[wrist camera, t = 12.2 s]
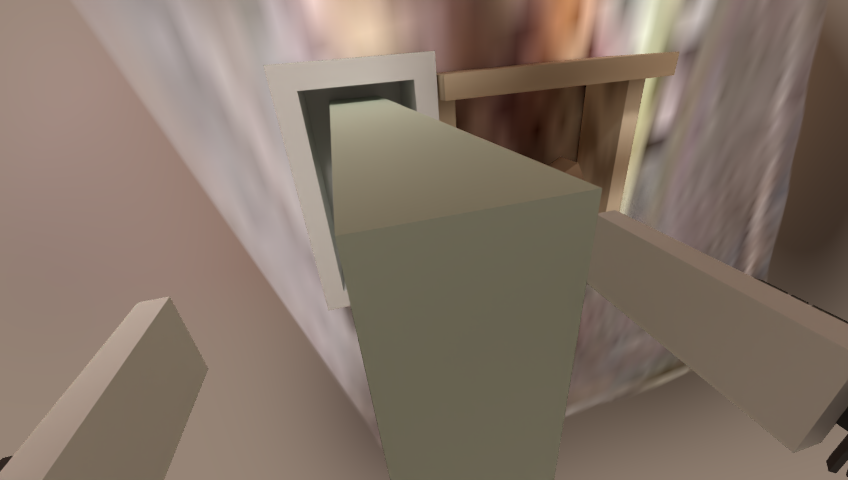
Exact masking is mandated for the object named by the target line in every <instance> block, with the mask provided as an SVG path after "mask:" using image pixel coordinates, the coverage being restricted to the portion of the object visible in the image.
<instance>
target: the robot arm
mask: <svg viewBox="0 0 848 480" xmlns="http://www.w3.org/2000/svg"><path fill="white" fill-rule="evenodd" d="M587 283H588V284H589V285H590V286H591V287H592V288H594V289H595V290H596V291H597V292H599V293H600V294H601V295H602V296H603V297H605V298H606V299H607V300H608V301H609V302H611V303H612V304H613V305H614V306H616V307H617V308H618V309H619V310H620V311H622V312H623V313H624V314H625V315H626V316H628V317H629V318H630V319H631V320H633V321H634V322H635V323H636V324H637V325H639V326H640V327H641V328H642V329H643V330H645V331H646V332H647V333H648V334H650V335H651V336H652V337H653V338H654V339H656V340H657V341H658V342H659V343H660V344H662V345H663V346H664V347H665V348H667V349H668V350H669V351H670V352H671V353H673V354H674V355H675V356H676V357H677V358H679V359H680V360H681V361H682V362H683V363H685V364H686V365H687V366H688V367H690V368H691V369H692V370H693V371H694V372H696V373H697V374H698V375H699V376H701V377H702V378H703V379H704V380H706V381H707V382H708V383H709V384H710V385H711V386H713V387H714V388H715V389H716V390H717V391H719V392H720V393H721V394H722V395H724V396H725V397H726V398H727V399H729V400H730V401H731V402H732V403H733V404H735V405H736V406H737V407H738V408H739V409H741V410H742V411H743V412H744V413H746V414H747V415H748V416H749V417H750V418H751V419H753V420H754V421H755V422H757V423H758V424H759V425H760V426H761V427H762V428H764V429H765V430H766V431H767V432H769V433H770V434H771V435H772V436H773V437H775V438H776V439H777V440H778V441H780V442H781V443H782V444H783V445H784V446H785V447H787V448H788V449H789V450H790V451H792V452H793V453H795V452H798V451H800V450H803V449H805V448H808V447H810V446H813V445H815V444H818V443H821V442H822V440H823V439H824V438H825V437H826V435H827V434H828V433H829V432H830V430H831V429H832V428H833V427H834V425H835V424H836V423H837V424H838V425H839V426H841V427H842V428H844V429H845V430H847V431H848V322H847V321H845V320H843V319H841V318H839V317H837V316H834V315H833V314H831V313H829V312H827V311H824V310H822V309H820V308H818V307H816V306H810V305H809V304H808V302H806V301H804V300H802V299H800V298H798V297H796V296H794V295H791V296H790V295H788V294H787V292H785V291H783V290H781V289H779V288H777V287H775V286H773V285H771V284H769V283H767V282H765V281H763V280H760V279H756V278H753V277H751V276H749V275H747V274H745V273H743V272H741V271H739V270H737V269H735V268H733V267H731V266H729V265H726V264H724V263H722V262H720V261H718V260H716V259H714V258H712V257H710V256H708V255H706V254H704V253H702V252H700V251H698V250H696V249H694V248H692V247H690V246H688V245H686V244H684V243H682V242H679V241H677V240H675V239H673V238H671V237H669V236H667V235H665V234H663V233H661V232H659V231H657V230H655V229H653V228H651V227H649V226H647V225H645V224H643V223H641V222H639V221H637V220H634V219H632V218H630V217H628V216H626V215H624V214H622V213H620V212H618V211H616V210H613V211H608V212H602V213H598V217H597V223H596V230H595V236H594V242H593V248H592V254H591V260H590V266H589V272H588V278H587ZM207 371H208V367H207V365H206V363H205V361H204V359H203V358H202V356H201V354H200V352H199V350H198V348H197V346H196V345H195V343H194V341H193V339H192V337H191V335H190V333H189V331H188V330H187V328H186V326H185V324H184V322H183V320H182V318H181V317H180V315H179V313H178V311H177V309H176V307H175V305H174V304H173V302H172V300H171V298H170V297H164V298H160V299H154V300H149V301H144V302H139V303H137V304H136V306H135V307H134V308H133V309H132V311H131V312H130V313H129V314H128V315H127V317H126V318H125V319H124V320H123V321H122V323H121V324H120V325H119V326H118V328H117V329H116V330H115V331H114V333H113V334H112V335H111V336H110V337H109V339H108V340H107V341H106V342H105V344H104V345H103V346H102V347H101V349H100V350H99V351H98V352H97V353H96V355H95V356H94V357H93V358H92V360H91V361H90V362H89V363H88V365H87V366H86V367H85V368H84V369H83V371H82V372H81V373H80V374H79V376H78V377H77V378H76V379H75V381H74V382H73V383H72V384H71V385H70V387H69V388H68V389H67V390H66V392H65V393H64V394H63V395H62V396H61V398H60V399H59V400H58V401H57V403H56V404H55V405H54V406H53V408H52V409H51V410H50V411H49V413H48V414H47V415H46V416H45V417H44V419H43V420H42V421H41V422H40V424H39V425H38V426H37V427H36V428H35V430H34V431H33V432H32V433H31V435H30V436H29V437H28V438H27V439H26V441H25V442H24V443H23V444H22V446H21V447H20V448H19V449H18V451H17V452H16V453H15V454H14V455H13V456H10V457H5V458H2V459H1V460H0V480H164V479H165V476H166V473H167V471H168V468H169V466H170V463H171V461H172V458H173V456H174V453H175V451H176V448H177V446H178V443H179V441H180V438H181V436H182V433H183V431H184V428H185V426H186V423H187V421H188V418H189V416H190V413H191V411H192V408H193V406H194V403H195V401H196V398H197V396H198V393H199V391H200V388H201V386H202V383H203V381H204V378H205V376H206V373H207ZM847 460H848V434H847V436H846V437H845V438H844V439H843V441H842V442H841V443H840V444H839V445H838V447H837V448H836V449H835V450H834V451H833V453H832V454H831V455H830V456H829V458H828V460H827V461H826V462H827V466H828V471H830V472H833V473H837V472H838V471H839V469H840V468H841V467H842V466H843V465H844V464H845V462H846V461H847ZM846 475H847V477H848V470H847V474H846Z"/></svg>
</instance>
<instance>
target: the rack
mask: <svg viewBox="0 0 848 480" xmlns="http://www.w3.org/2000/svg"><path fill="white" fill-rule="evenodd" d="M678 56H679V52H666V53H651V54H636V55H621V56H606V57H595V58H585V59H575V60H564V61H554V62H544V63H534V64H523V65H513V66H503V67H493V68H482V69H472V70H462V71H451V72H441V73H436V75H437V92H438V109H439V121H441V122H443V123H446V124H448V125H451V126H453V127H455V128H456V110H455V100H459V99H468V98H477V97H485V96H494V95H503V94H512V93H521V92H529V91H538V90H547V89H556V88H565V87H573V86H582V85H586V92H585V100H584V108H583V116H582V124H581V132H580V140H579V149H578V157H577V163H578V164H579V166H580V169H581V172H582V174H583V177H584V180H585V181H586V182H589V183H591V184H594V185H596V186H598V187H601V188H602V193H601V199H600V205H599V211H598V213H602V212H608V211H613V210H616V211H618V212H619V211H620V205H621V200H622V195H623V190H624V185H625V180H626V175H627V170H628V165H629V159H630V154H631V149H632V144H633V139H634V134H635V129H636V124H637V119H638V114H639V108H640V103H641V98H642V93H643V88H644V83H645V78H652V77H661V76H670V75H674V73H675V69H676V64H677V60H678Z"/></svg>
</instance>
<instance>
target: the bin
mask: <svg viewBox="0 0 848 480" xmlns="http://www.w3.org/2000/svg"><path fill="white" fill-rule="evenodd" d="M263 66H264V70H265V74H266V78H267V81H268V85H269V89H270V93H271V96H272V100H273V104H274V108H275V111H276V115H277V119H278V123H279V126H280V130H281V134H282V138H283V141H284V145H285V149H286V153H287V156H288V160H289V164H290V168H291V171H292V175H293V179H294V183H295V186H296V190H297V194H298V198H299V201H300V205H301V209H302V213H303V216H304V220H305V224H306V228H307V231H308V235H309V239H310V243H311V246H312V250H313V254H314V258H315V261H316V265H317V269H318V273H319V276H320V280H321V284H322V288H323V291H324V295H325V299H326V303H327V306H328V310H334V309H338V308H343V307H348V306H351V305H350V301H349V297H348V292H347V288H346V283H345V279H344V275H343V270H342V266H341V261H340V257H339V253H338V248H337V244H336V239H335V230H334V204H333V179H332V154H331V129H330V103H329V101H331V100H340V99H349V98H359V97H368V96H380V97H383V98H385V99H388V100H390V101H393V102H395V103H397V104H400V105H402V106H405V107H407V108H409V109H412V110H414V111H417V112H419V113H422V114H424V115H426V116H429V117H431V118H434V119H436V120H439V109H438V92H437V75H436V58H435V51H427V52H415V53H403V54H391V55H380V56H368V57H356V58H344V59H332V60H321V61H309V62H297V63H285V64H273V65H263Z"/></svg>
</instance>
